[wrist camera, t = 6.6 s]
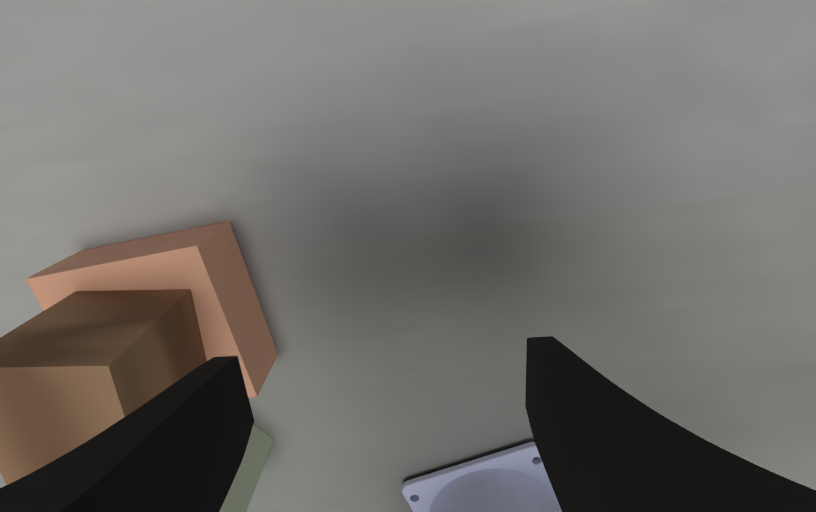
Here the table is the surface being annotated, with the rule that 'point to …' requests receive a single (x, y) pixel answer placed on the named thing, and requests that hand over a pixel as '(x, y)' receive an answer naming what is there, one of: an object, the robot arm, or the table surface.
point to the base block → (179, 269)
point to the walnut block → (89, 369)
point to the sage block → (248, 472)
